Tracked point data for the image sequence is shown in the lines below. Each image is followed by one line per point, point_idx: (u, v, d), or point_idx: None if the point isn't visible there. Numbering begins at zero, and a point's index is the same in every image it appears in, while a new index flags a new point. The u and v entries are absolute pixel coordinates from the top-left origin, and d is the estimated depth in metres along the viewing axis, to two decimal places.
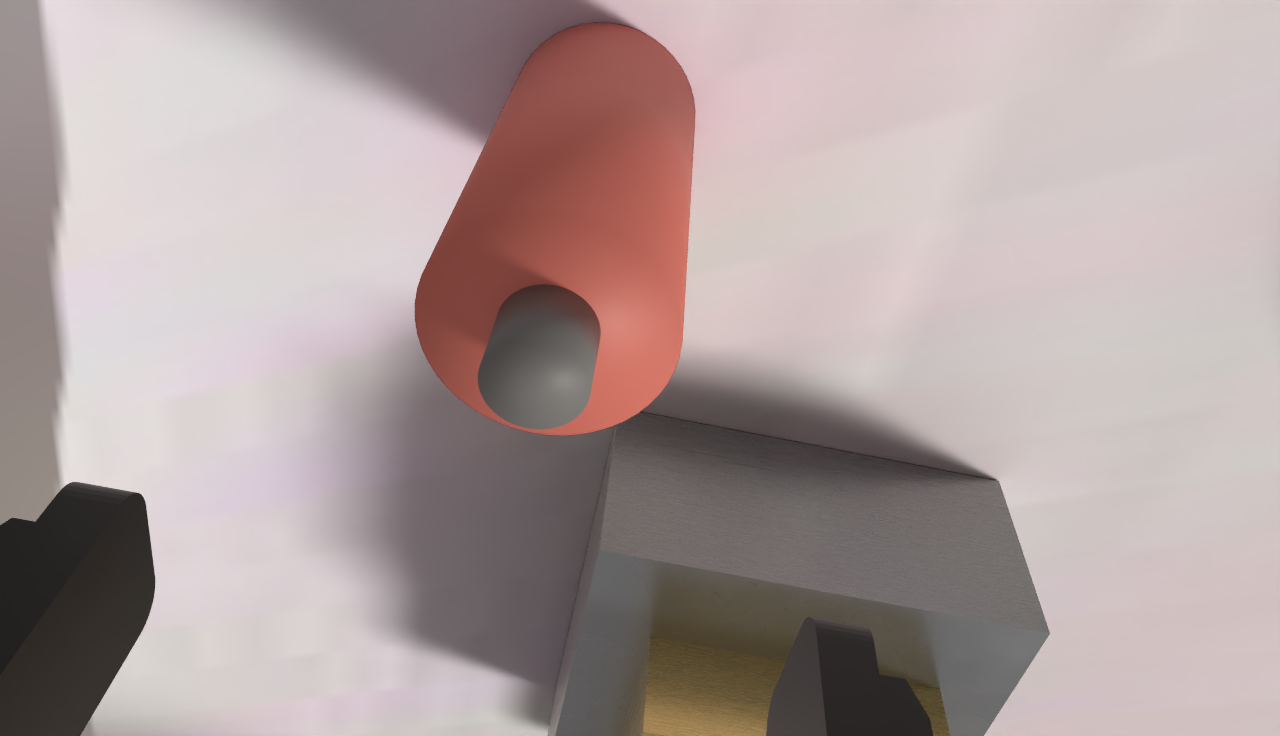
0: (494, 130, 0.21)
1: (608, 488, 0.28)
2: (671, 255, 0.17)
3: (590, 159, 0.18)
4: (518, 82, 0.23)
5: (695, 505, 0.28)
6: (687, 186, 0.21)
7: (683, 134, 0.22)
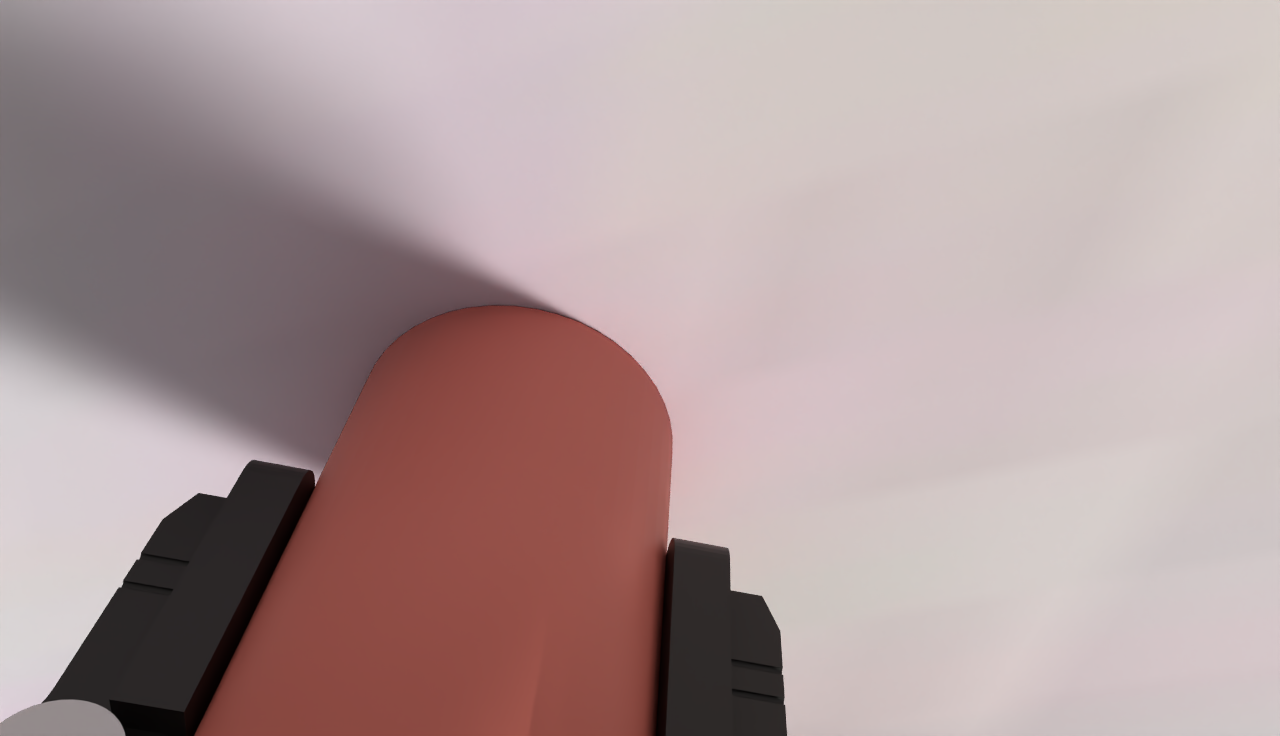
0: (255, 619, 0.10)
1: None
2: None
3: None
4: (341, 443, 0.12)
5: None
6: (648, 731, 0.10)
7: (644, 574, 0.11)
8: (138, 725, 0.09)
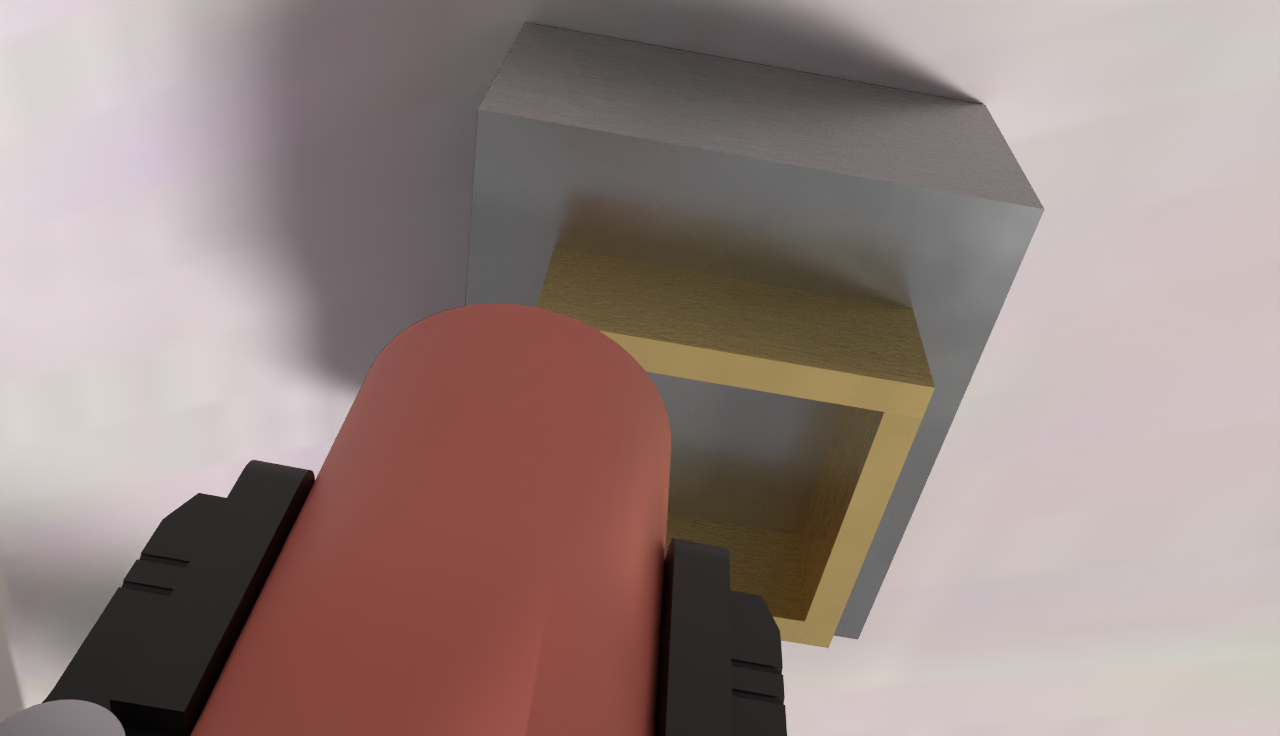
0: (253, 616, 0.10)
1: (500, 71, 0.23)
2: None
3: None
4: (339, 441, 0.12)
5: (607, 90, 0.23)
6: (647, 728, 0.10)
7: (642, 571, 0.11)
8: (138, 725, 0.09)
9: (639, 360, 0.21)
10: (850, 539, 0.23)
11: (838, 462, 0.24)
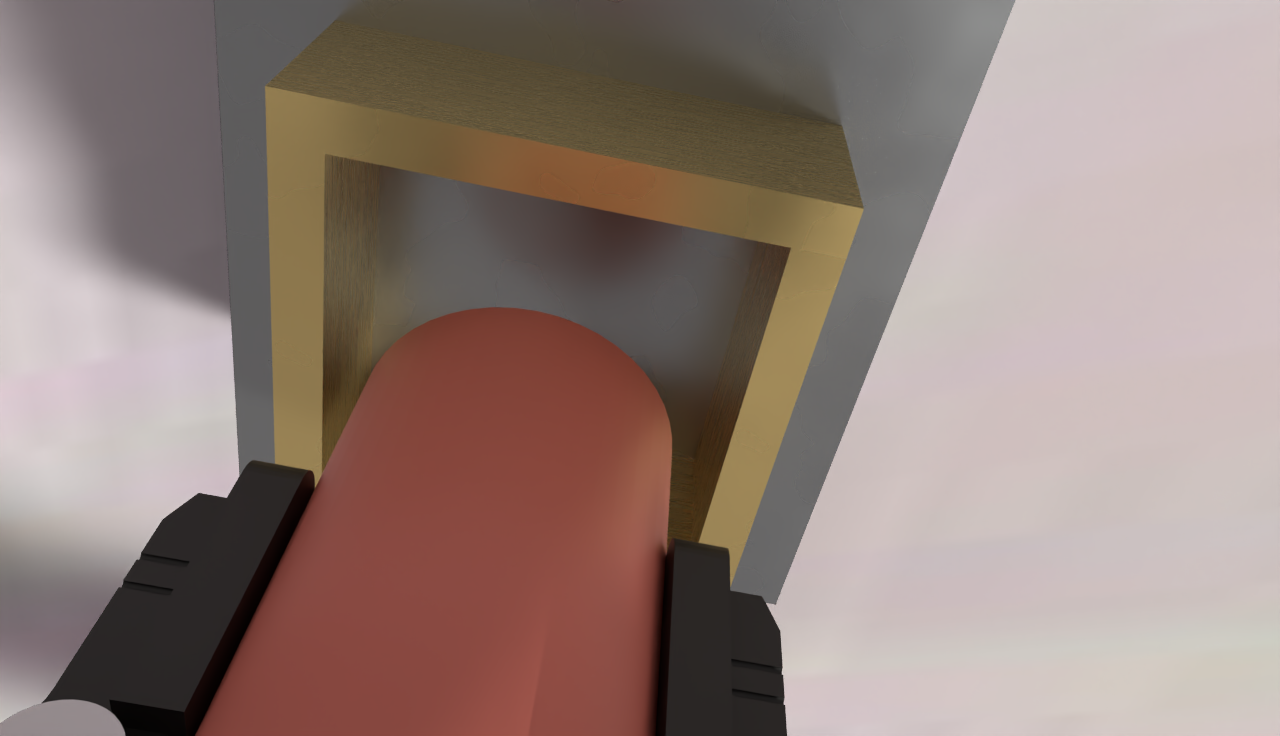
0: (255, 621, 0.10)
1: None
2: None
3: None
4: (341, 445, 0.12)
5: None
6: (648, 733, 0.10)
7: (644, 576, 0.11)
8: (138, 725, 0.09)
9: (429, 159, 0.14)
10: (748, 448, 0.16)
11: (738, 347, 0.17)
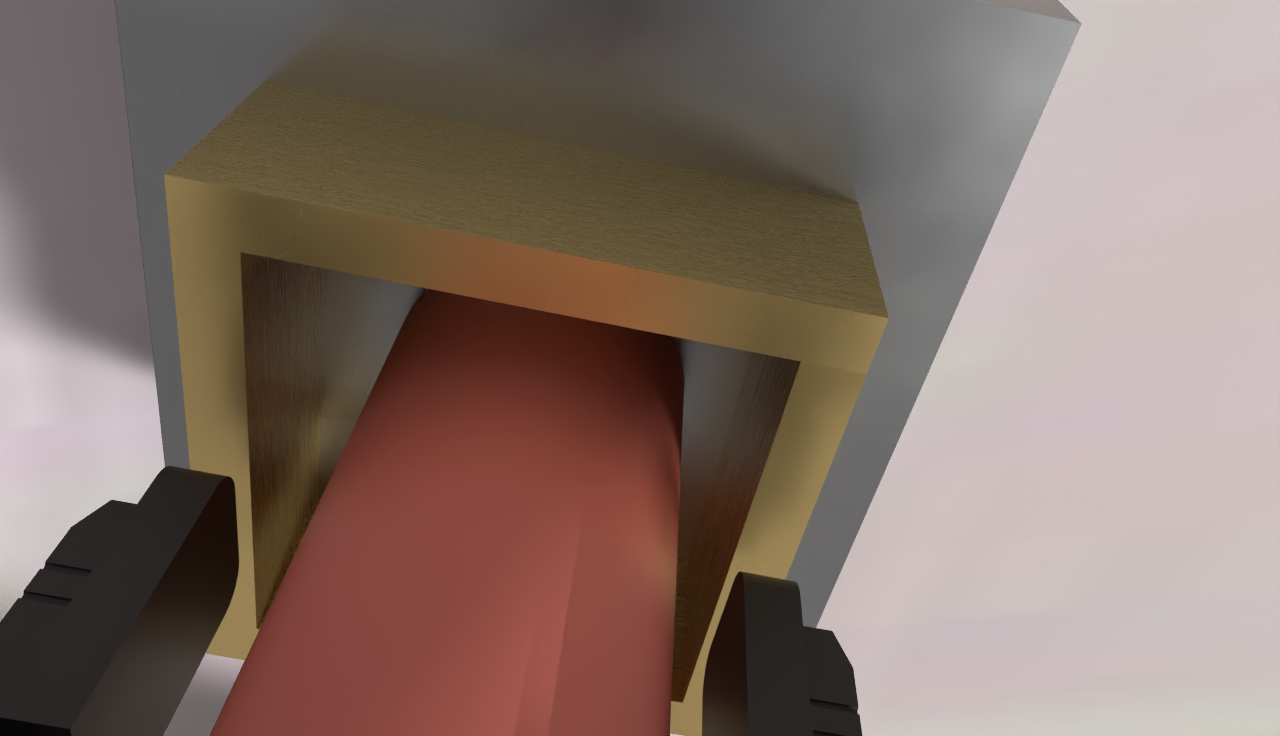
0: (316, 520, 0.11)
1: None
2: None
3: (458, 730, 0.08)
4: (384, 375, 0.14)
5: None
6: (668, 622, 0.11)
7: (663, 490, 0.13)
8: None
9: (366, 258, 0.12)
10: None
11: (737, 453, 0.15)
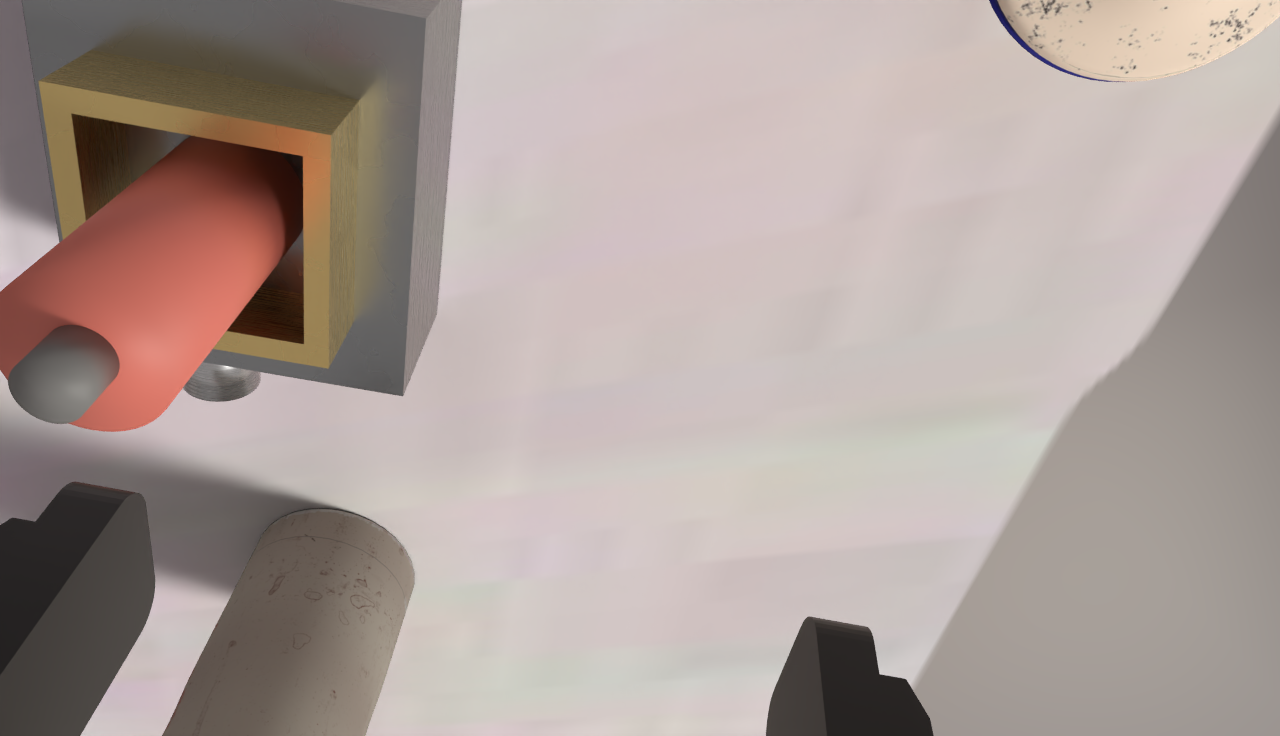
0: None
1: None
2: (170, 304, 0.25)
3: (121, 238, 0.26)
4: None
5: None
6: (240, 253, 0.29)
7: (255, 214, 0.30)
8: None
9: (121, 114, 0.29)
10: (313, 268, 0.31)
11: None
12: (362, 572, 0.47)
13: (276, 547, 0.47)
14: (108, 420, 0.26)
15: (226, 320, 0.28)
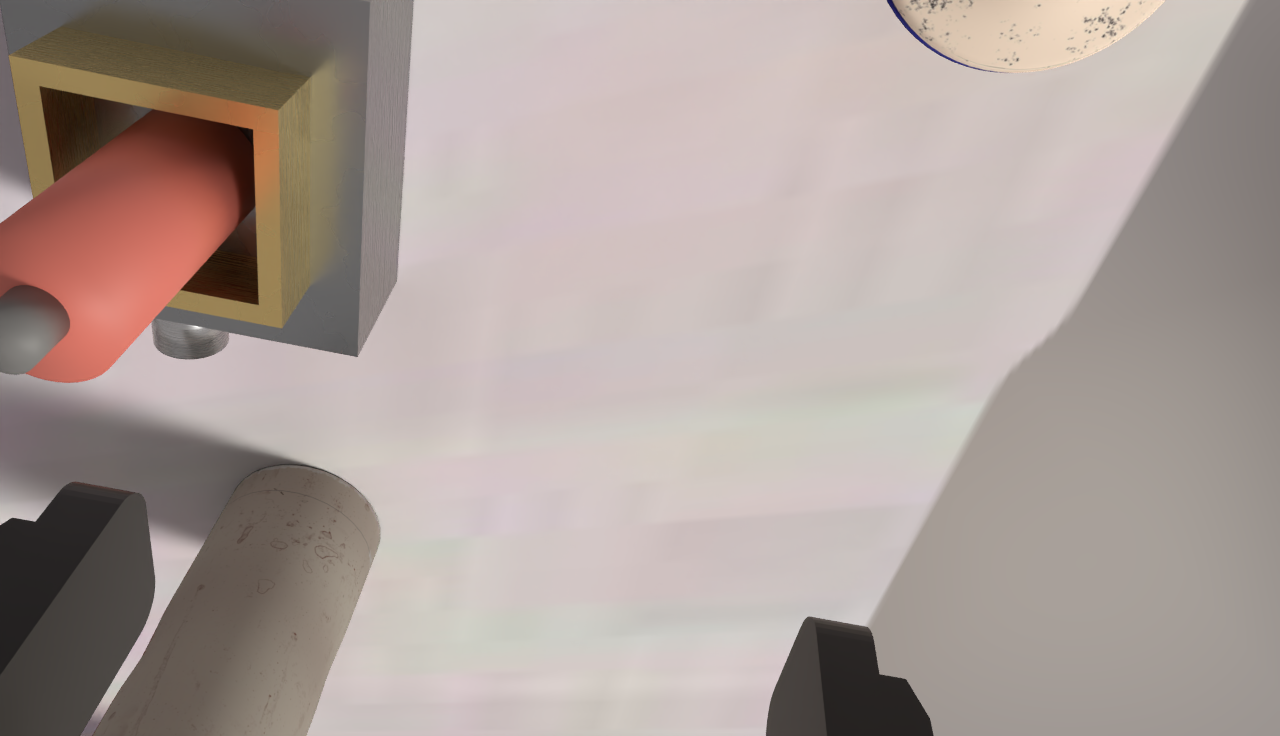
0: None
1: None
2: (116, 269, 0.28)
3: (74, 207, 0.28)
4: None
5: None
6: (190, 223, 0.31)
7: (207, 186, 0.32)
8: None
9: (85, 88, 0.31)
10: (265, 233, 0.34)
11: None
12: (327, 525, 0.50)
13: (246, 499, 0.50)
14: (61, 372, 0.29)
15: (175, 284, 0.31)
